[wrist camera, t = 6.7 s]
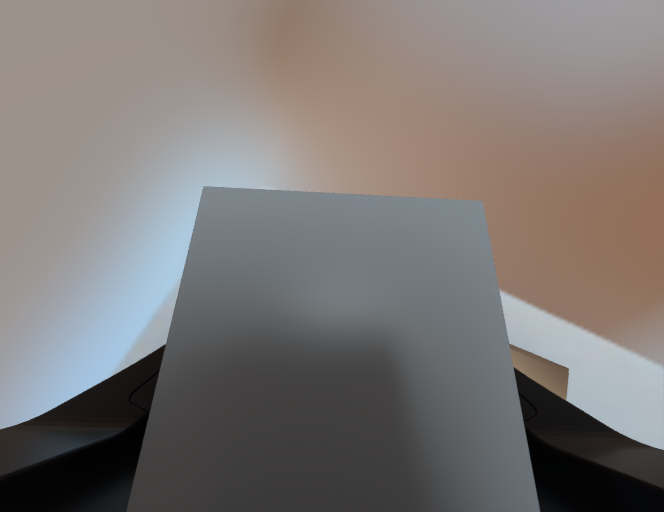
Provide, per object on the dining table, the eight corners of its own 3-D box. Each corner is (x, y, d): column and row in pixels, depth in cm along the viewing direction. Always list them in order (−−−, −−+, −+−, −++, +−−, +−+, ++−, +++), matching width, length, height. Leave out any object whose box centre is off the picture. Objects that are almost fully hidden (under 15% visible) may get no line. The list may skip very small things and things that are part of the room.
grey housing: (369, 394, 14) (552, 575, 3) (279, 391, 14) (112, 569, 3) (368, 304, 16) (482, 200, 5) (287, 301, 16) (203, 186, 5)
